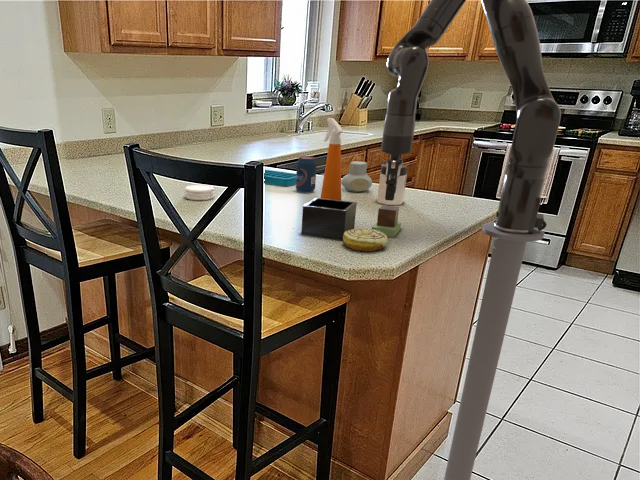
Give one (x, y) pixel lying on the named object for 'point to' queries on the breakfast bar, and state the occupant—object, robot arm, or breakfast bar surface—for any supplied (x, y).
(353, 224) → the black open box
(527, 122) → the robot arm
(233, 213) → the breakfast bar surface
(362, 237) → the decorated donut
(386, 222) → the block
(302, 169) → the soda can
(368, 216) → the breakfast bar surface
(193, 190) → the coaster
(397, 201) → the jar
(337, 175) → the spray bottle
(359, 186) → the air freshener
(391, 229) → the sponge
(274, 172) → the ice cube tray
